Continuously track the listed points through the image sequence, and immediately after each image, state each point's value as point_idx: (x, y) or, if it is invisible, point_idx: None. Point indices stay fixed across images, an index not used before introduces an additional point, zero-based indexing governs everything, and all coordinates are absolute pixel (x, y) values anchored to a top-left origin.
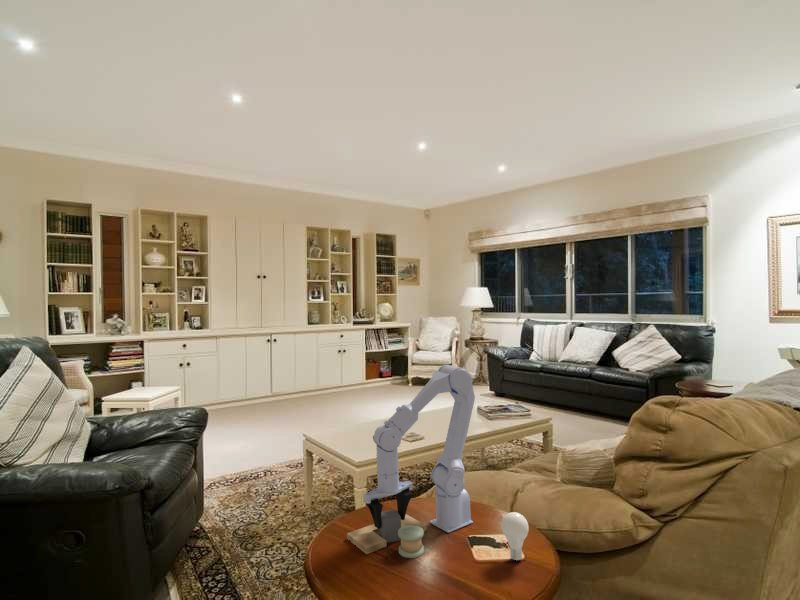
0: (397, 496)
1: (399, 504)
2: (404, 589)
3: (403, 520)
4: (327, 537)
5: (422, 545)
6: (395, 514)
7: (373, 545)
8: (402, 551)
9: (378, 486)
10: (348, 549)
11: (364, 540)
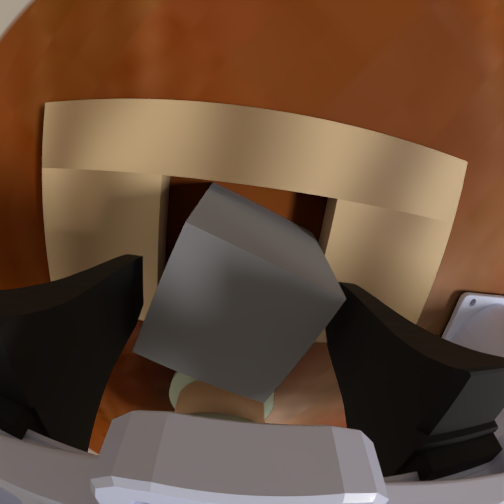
0: (405, 386)
1: (369, 359)
2: (99, 448)
3: (398, 225)
4: (24, 35)
5: (266, 414)
6: (271, 357)
7: None
8: (177, 394)
9: None
10: (27, 198)
11: (72, 240)
